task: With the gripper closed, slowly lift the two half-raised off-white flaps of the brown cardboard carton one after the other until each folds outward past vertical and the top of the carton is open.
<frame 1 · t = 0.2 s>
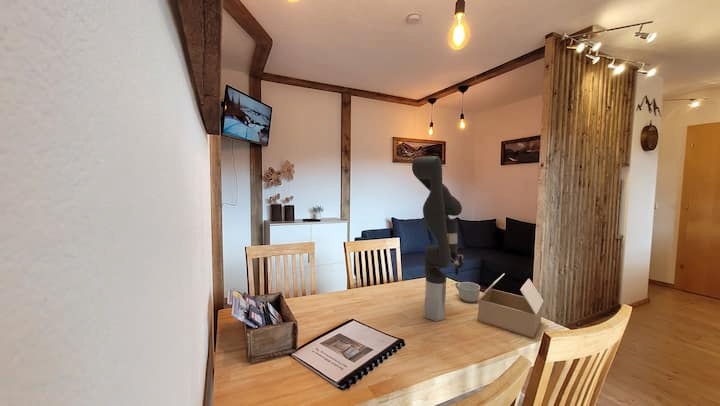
hand: (448, 273, 145), 17 cm above the table, tool pointing down, fingers open, 8 cm apart
flap a: (491, 285, 136), point 15 cm above the table, hinge at 55.0°
carton: (509, 321, 132), on the table
flap b: (532, 295, 125), point 15 cm above the table, hinge at 55.0°
teacup: (466, 299, 157), on the table
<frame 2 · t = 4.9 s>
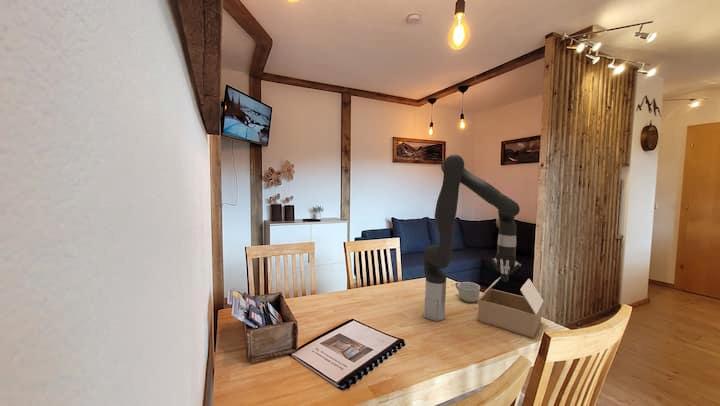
hand: (504, 281, 134), 18 cm above the table, tool pointing down, fingers closed
flap a: (491, 285, 136), point 15 cm above the table, hinge at 55.1°, touching gripper
everything else where it was.
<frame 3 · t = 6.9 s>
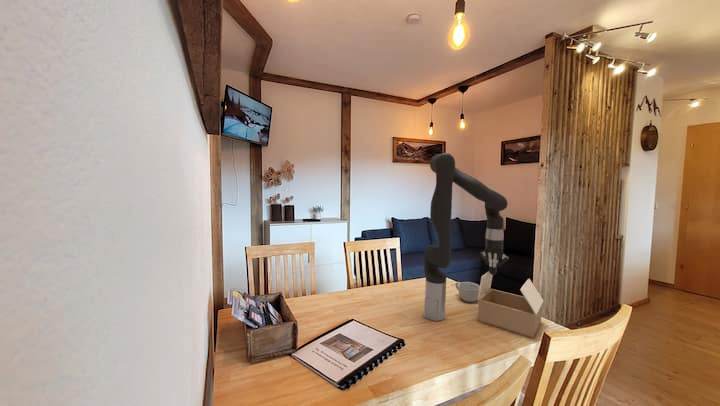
hand: (492, 274, 137), 20 cm above the table, tool pointing down, fingers closed
flap a: (486, 282, 137), point 16 cm above the table, hinge at 83.8°, touching gripper
everything else where it was.
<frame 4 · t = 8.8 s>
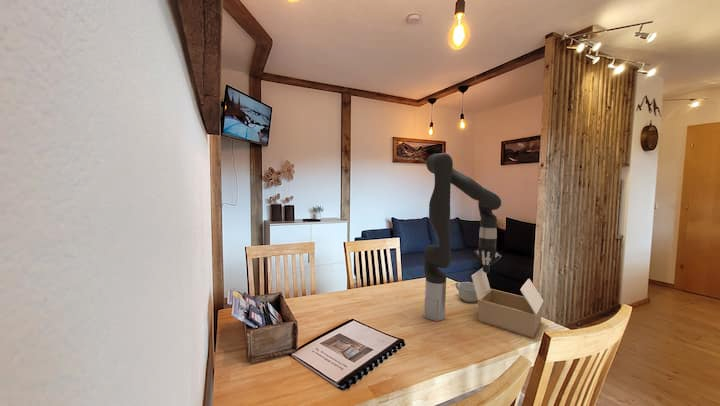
hand: (486, 272, 139), 20 cm above the table, tool pointing down, fingers closed
flap a: (481, 282, 139), point 15 cm above the table, hinge at 108.2°
everything else where it was.
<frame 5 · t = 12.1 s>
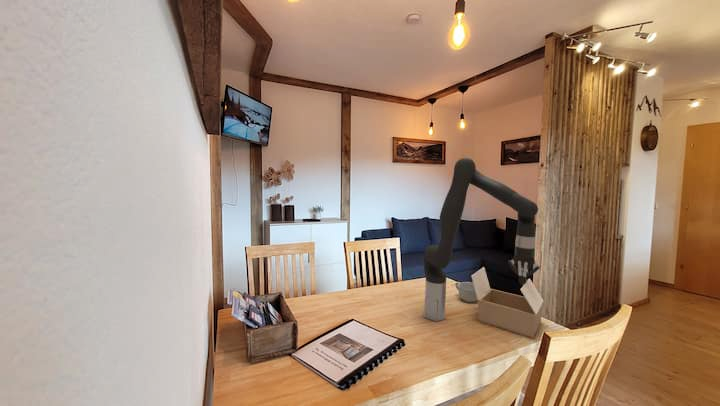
hand: (522, 283, 129), 18 cm above the table, tool pointing down, fingers closed
flap b: (532, 295, 125), point 15 cm above the table, hinge at 55.8°, touching gripper
everything else where it was.
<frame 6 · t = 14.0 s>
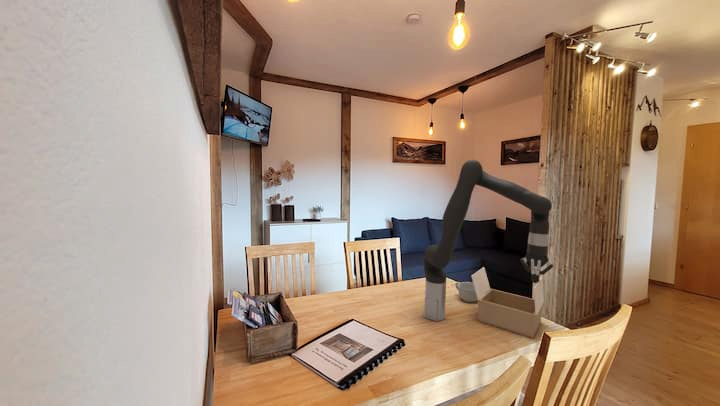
hand: (534, 282, 126), 20 cm above the table, tool pointing down, fingers closed
flap b: (539, 295, 124), point 15 cm above the table, hinge at 83.1°, touching gripper
everything else where it was.
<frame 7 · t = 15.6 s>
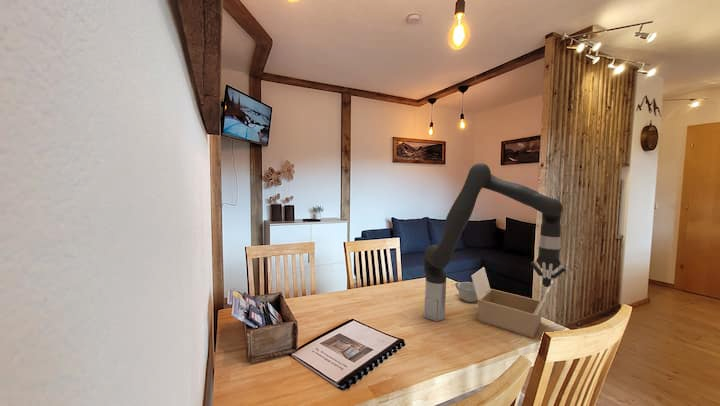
hand: (546, 286, 123), 19 cm above the table, tool pointing down, fingers closed
flap b: (544, 297, 122), point 15 cm above the table, hinge at 106.1°, touching gripper
everything else where it was.
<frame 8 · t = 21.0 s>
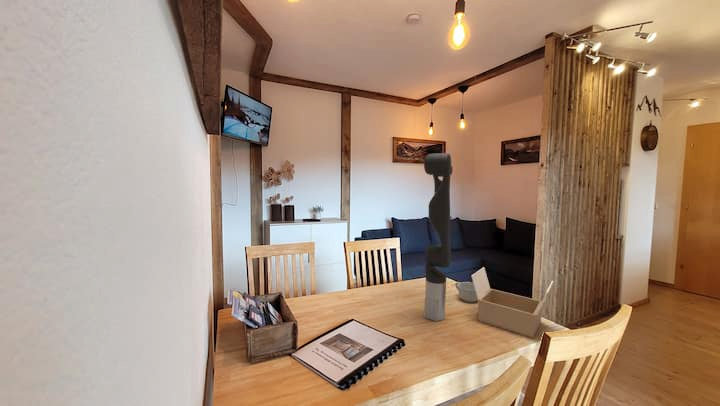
hand: (439, 232, 158), 35 cm above the table, tool pointing down, fingers closed
flap b: (545, 297, 122), point 15 cm above the table, hinge at 106.3°
everything else where it was.
at the end: flap a at +108° (first picture: +55°); flap b at +106° (first picture: +55°) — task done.
